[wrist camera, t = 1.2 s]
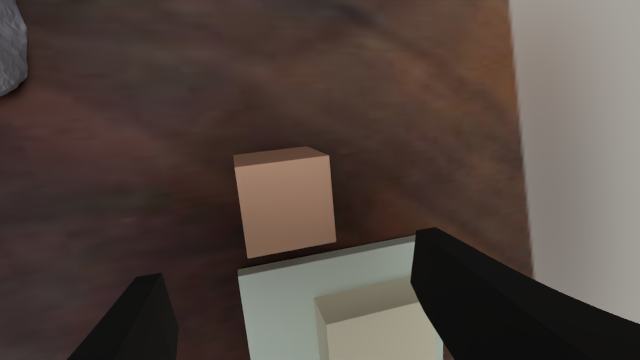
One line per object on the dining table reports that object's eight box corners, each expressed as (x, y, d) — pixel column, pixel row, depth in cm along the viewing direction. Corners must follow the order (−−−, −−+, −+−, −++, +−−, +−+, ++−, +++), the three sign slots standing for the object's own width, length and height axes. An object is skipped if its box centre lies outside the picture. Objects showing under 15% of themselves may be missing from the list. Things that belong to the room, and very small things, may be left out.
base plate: (436, 392, 28) (469, 436, 24) (264, 447, 24) (271, 508, 21) (433, 231, 25) (470, 252, 21) (237, 269, 21) (239, 303, 18)
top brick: (313, 214, 22) (336, 241, 17) (243, 226, 21) (247, 258, 16) (306, 146, 21) (329, 155, 16) (233, 154, 20) (234, 167, 15)
